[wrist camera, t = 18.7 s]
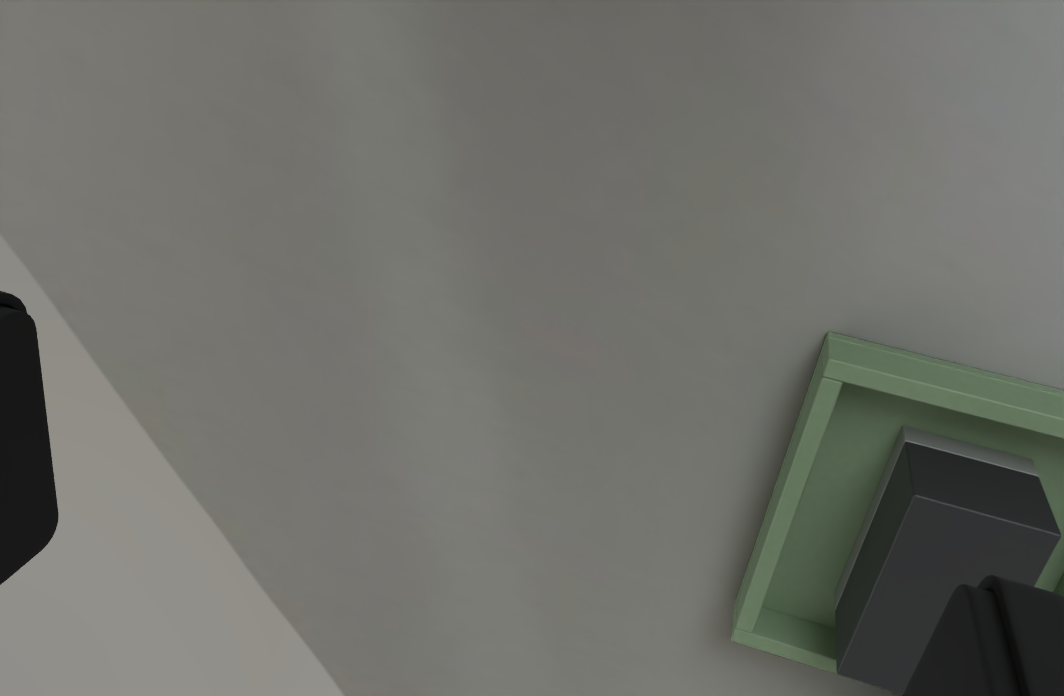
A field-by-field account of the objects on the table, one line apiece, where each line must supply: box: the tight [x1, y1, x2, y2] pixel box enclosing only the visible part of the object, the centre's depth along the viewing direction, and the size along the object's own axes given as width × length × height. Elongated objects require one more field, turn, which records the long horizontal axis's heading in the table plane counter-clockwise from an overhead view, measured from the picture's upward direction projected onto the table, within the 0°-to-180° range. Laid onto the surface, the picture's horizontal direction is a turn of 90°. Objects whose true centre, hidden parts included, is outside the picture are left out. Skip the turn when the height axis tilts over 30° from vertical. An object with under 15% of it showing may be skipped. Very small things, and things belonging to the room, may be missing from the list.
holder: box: [731, 332, 1064, 693], centre depth 38 cm, size 15×13×3 cm
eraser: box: [834, 425, 1061, 695], centre depth 36 cm, size 9×5×5 cm, turn 171°
